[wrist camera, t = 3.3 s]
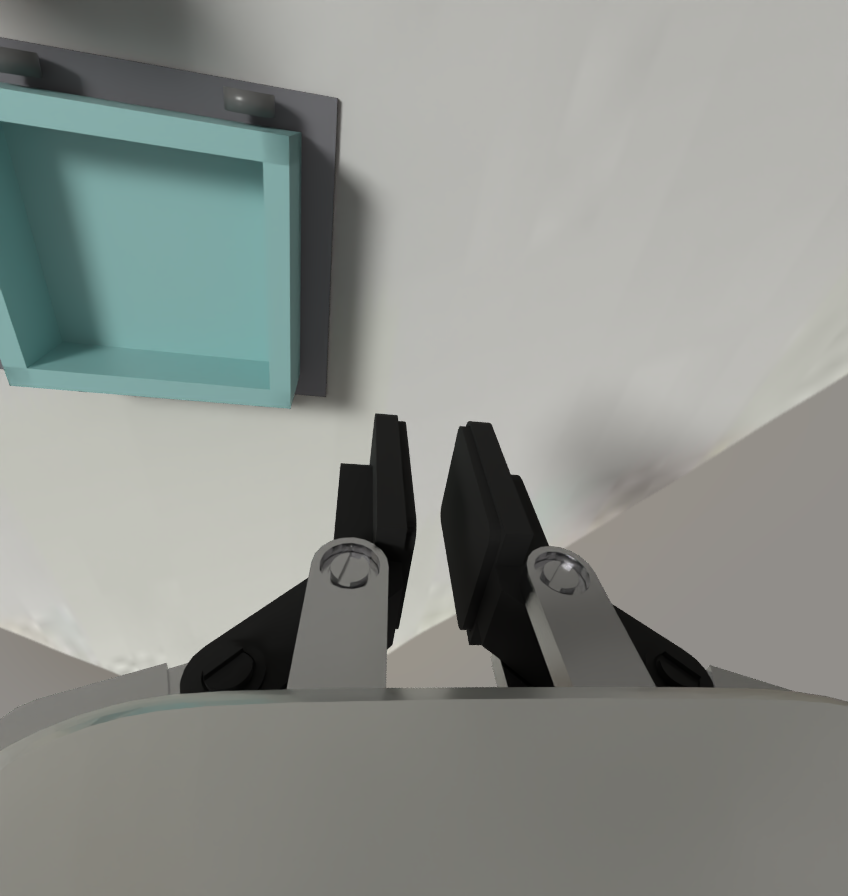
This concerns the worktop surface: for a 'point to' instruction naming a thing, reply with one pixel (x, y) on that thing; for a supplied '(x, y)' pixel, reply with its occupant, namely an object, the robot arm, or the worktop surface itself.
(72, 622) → the worktop surface
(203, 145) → the teal open tray
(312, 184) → the mat
